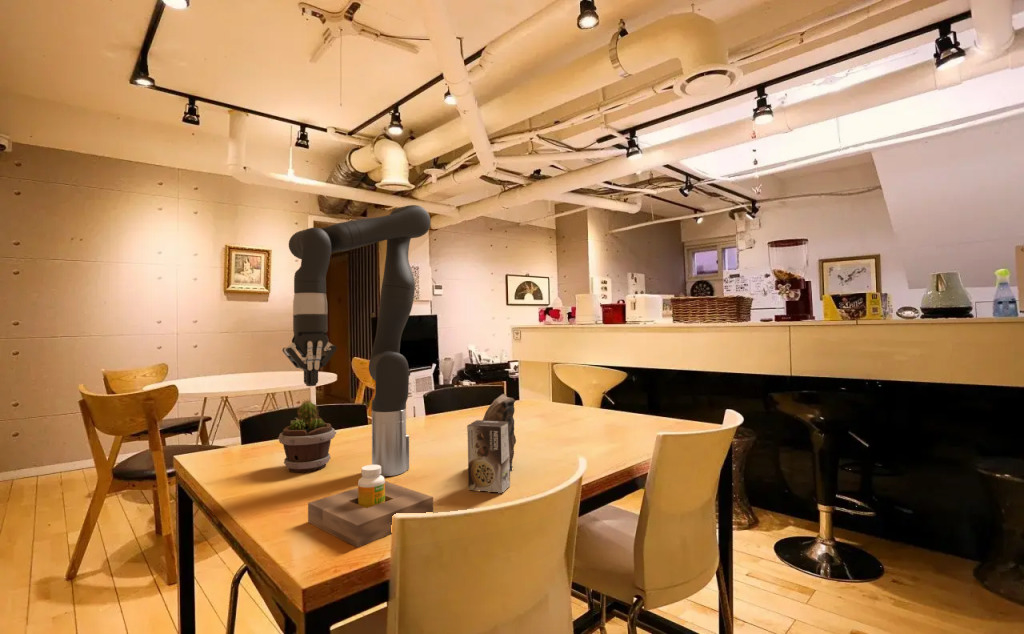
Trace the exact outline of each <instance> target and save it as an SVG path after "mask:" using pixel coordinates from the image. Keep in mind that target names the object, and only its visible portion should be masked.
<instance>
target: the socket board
mask: <svg viewBox="0 0 1024 634" xmlns="http://www.w3.org/2000/svg"><path fill="white" fill-rule="evenodd" d="M426 512H433V513H434V497H433V496H432V495H428V494H425V493H422V492H420V491H416V490H413V489H410V488H408V487H404V486H401V485H398V484H395V483H392V482H389V481H386V480H385V502H383V503H380V504H378V505H375V506H372V507H369V508H365V507H363V506H360V505H358V487H355V488H352V489H348V490H344V491H341V492H339V493H336V494H335V493H334V494H332V495H329V496H326V497H322V498H319V499H316V500H313V501H309V502H308V503H307V522H308V523H309V524H310V525H313V526H315V527H317V528H318V529H321V530H323V531H324V532H326V533H328V534H330V535H333V537H336V538H338V539H340V540H342V541H344V542H346V543H347V544H349V545H352V546H354V547H355V548H361V547H363V546H365V545H367V544H369V543H372V542H375V541H377V540H379V539H381V538H384V537H388V536H389V535H392V533H391V525H392V516H393V515H394V514H396V513H426Z"/></svg>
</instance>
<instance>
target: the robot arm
mask: <svg viewBox="0 0 1024 634" xmlns="http://www.w3.org/2000/svg"><path fill="white" fill-rule="evenodd" d="M431 223H432V221H431V217H430V214H429V212H428V210H426V209H425V208H424V207H422V206H420V205H416V204H411V205H403V206H399V207H397V208H396V207H395V208H394V209H392V211H391V212H390V214H388V215H383V216H376V217H369V218H362V219H361V218H360V219H359V218H358V219H355V220H354V219H353V220H348V221H344V222H338V223H335V224H331V225H328V226H325V227H310V228H306V229H303V230H300V231H296V232H295V233H293V235H291V237H290V238H289V241H288V249H289V251H290V253H291V254H292V255H293V256H294V257H295V258H297V259H299V260H301V261H300V267H299V268H298V269H297V270H296V271H295V272H294V277H293V301H292V312H293V313H292V315H293V316H292V325H293V326H292V331H293V337H292V339H291V343H290V344H289V345H287V347H286V346H285V347H283V348H282V352H283V354H284V355H285V356H286V358H287V359H288V360H289V361H290V362H291V364H292V365H293V366H294V367H295V369H301V370H303V383H304V384H305V386H306V387H316V386H317V384H318V383H319V370H320V368H323V367H326V366H327V364H328V362H330V359H331V358H332V357H333V355H334V354H335V353H336V351H337V349H338V346H337V345H334V344H332V343H331V342H330V341H329V336H328V299H327V279H326V278H327V273H328V270H329V264H330V259H331V255H332V253H338V252H339V253H340V252H346V251H347V252H348V251H350V250H354V249H358V248H361V247H366V246H369V245H372V244H376V243H380V242H383V241H386V252H385V261H384V268H383V276H382V277H383V278H382V281H381V283H382V284H381V289H380V296H379V306H378V315H377V323H376V324H377V325H376V332H375V338H374V342H373V346H372V350H371V354H370V359H369V362H368V372H369V375H370V377H371V378H372V380H374V381H375V389H374V390H375V391H374V392H375V394H374V397H373V399H372V400H371V465H380V466H381V474H380V475H381V476H383V477H392V476H397V475H401V474H403V473H406V471H407V470H410V435H409V434H407V402H408V398H409V391H410V389H409V387H410V369H409V368H410V367H409V363H408V360H407V359H406V357H405V356H404V355H403V354H401V353H400V352H401V351H400V349H401V340H402V339H401V338H402V334H403V332H404V329H405V327H406V324H407V322H408V319H409V317H410V315H411V311H412V308H413V304H414V299H415V290H416V285H415V284H416V282H415V277H414V274H413V271H412V268H411V266H410V262H409V250H410V245H411V244H410V243H411V239H416V238H420V237H422V236H424V235H426V234H427V233H428V232H429V230H430V228H431V225H432V224H431ZM297 352H298V354H299V355H298V354H297Z"/></svg>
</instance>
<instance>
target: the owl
mask: <svg viewBox="0 0 1024 634" xmlns="http://www.w3.org/2000/svg"><path fill="white" fill-rule="evenodd" d="M515 402H516V400H515V399H514V398H513V397H508V396H507V394H504V393H502V394H500V395H499V396H498V397H497V398H495V399H494V400H493V401H492V403H491V404H490V405H489V407H488V408H487V409H486V411H485V413H484V416H483V418H482V420H484V421H505V422H509V449H510V471H511V470H512V468H513V459H514V456H515V445H516V442H517V439H516V435H515V419H514V414H515ZM511 472H512V471H511Z"/></svg>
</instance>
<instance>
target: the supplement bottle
mask: <svg viewBox="0 0 1024 634" xmlns="http://www.w3.org/2000/svg"><path fill="white" fill-rule="evenodd" d="M380 474H381V466H380V465H372V464H368V465H364V466H362V467H361V477H360V478H359V479H358V482H357V488H358V505H360V506H363V507H365V508H369V507H372V506H375V505H378V504H380V503H383V502H385V481H386V480H385V476H381V475H380Z"/></svg>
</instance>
